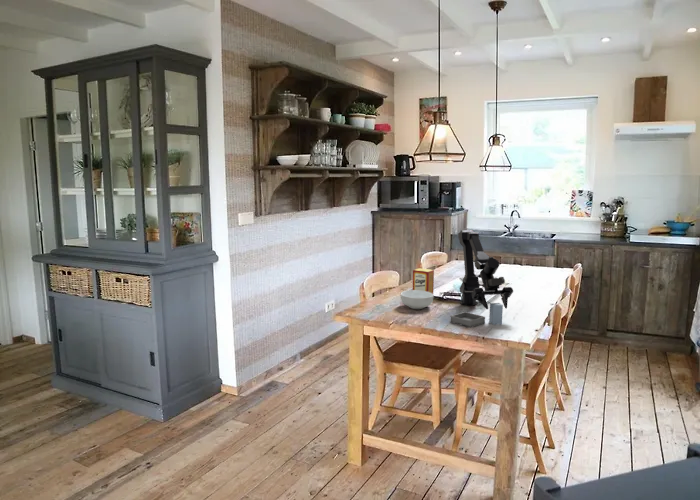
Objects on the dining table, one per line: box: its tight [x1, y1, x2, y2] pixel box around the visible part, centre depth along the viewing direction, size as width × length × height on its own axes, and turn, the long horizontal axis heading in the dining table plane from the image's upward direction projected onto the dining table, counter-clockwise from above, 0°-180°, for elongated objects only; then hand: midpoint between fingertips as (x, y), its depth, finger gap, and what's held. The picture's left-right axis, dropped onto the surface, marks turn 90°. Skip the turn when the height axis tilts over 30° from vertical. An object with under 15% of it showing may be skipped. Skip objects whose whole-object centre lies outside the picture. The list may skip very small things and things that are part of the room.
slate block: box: [488, 302, 504, 325], centre depth 245 cm, size 4×4×9 cm
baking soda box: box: [412, 267, 435, 295], centre depth 291 cm, size 10×6×16 cm
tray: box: [449, 311, 486, 328], centre depth 246 cm, size 11×11×3 cm
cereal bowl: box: [400, 289, 434, 310], centre depth 273 cm, size 17×17×7 cm
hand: (497, 308), depth 244 cm, fingers open, 9 cm apart
